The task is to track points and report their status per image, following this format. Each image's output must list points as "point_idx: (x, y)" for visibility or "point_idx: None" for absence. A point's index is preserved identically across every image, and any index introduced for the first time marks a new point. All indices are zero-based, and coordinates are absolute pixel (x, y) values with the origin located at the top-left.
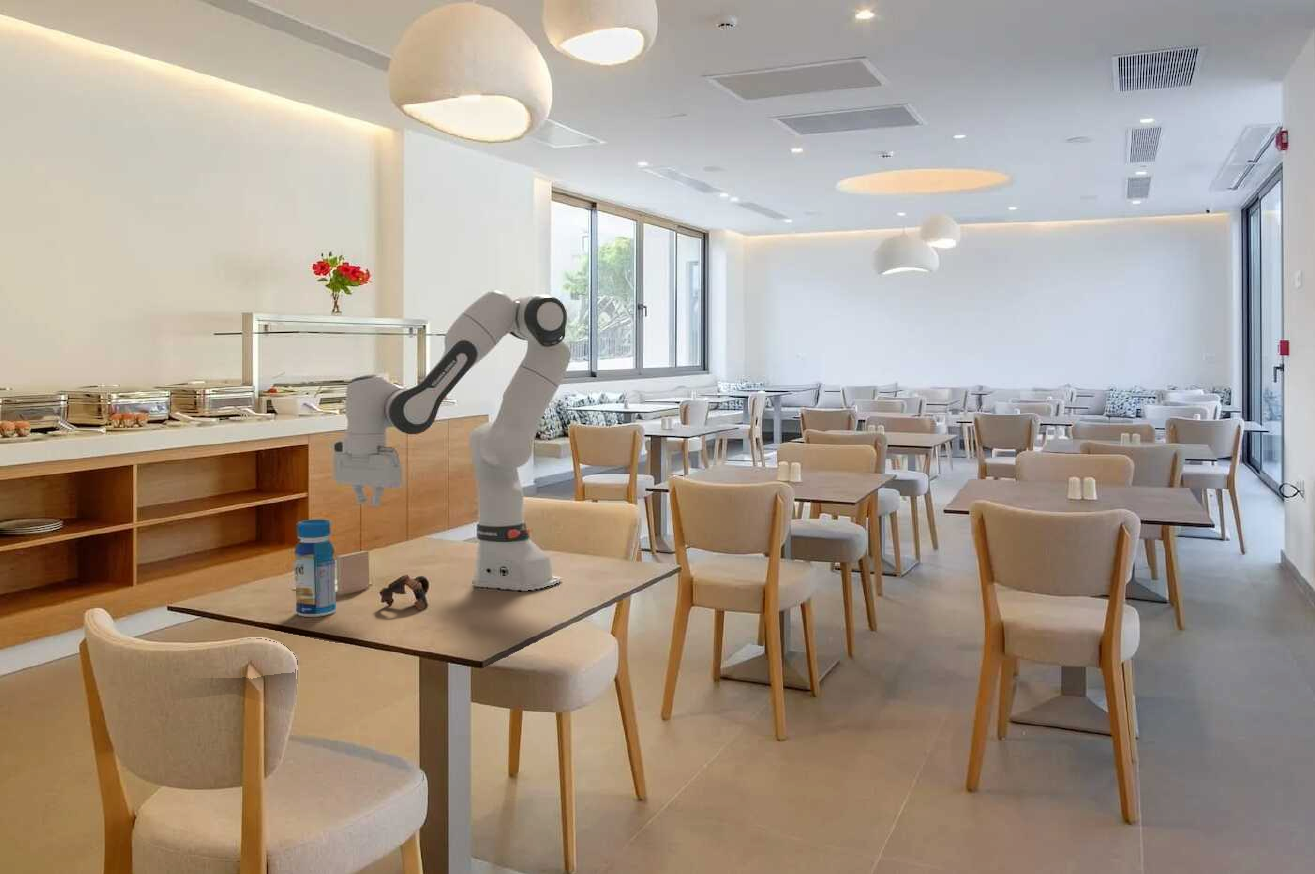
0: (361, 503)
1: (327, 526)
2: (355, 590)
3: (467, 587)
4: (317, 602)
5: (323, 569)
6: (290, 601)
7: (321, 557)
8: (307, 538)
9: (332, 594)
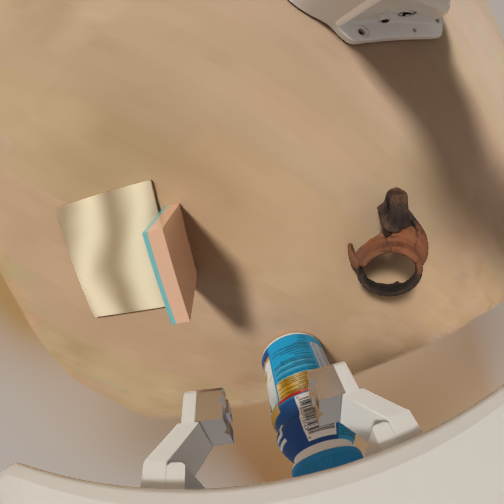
0: (229, 409)
1: None
2: (188, 242)
3: (343, 54)
4: None
5: None
6: (183, 353)
7: None
8: None
9: (328, 361)
